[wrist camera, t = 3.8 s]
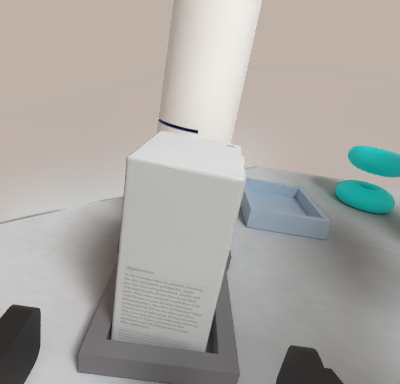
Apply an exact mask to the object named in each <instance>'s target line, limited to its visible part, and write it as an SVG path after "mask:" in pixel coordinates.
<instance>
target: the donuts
mask: <svg viewBox="0 0 400 384" xmlns="http://www.w3.org/2000/svg"><path fill="white" fill-rule="evenodd" d="M348 158H349V160H350V162H351V163H352V164H353V165H354V166H356V167H357V168H359V169H361V170H363V171H366V172H368V173H372V174H375V175H379V176H384V177H400V155H398V154H396V153H392V152H389V151H385V150H382V149H377V148H373V147H366V146H356V147H353V148H352V149H351V150H350V151H349V153H348ZM335 193H336V196H337V197H338V198H339V199H340V200H341V201H342V202H344V203H346V204H347V205H349V206H352V207H354V208H357V209H359V210H363V211H366V212H371V213H387V212H389V211H391V210H392V209H393V208H394V205H395V202H394V199H393V197H392V196H391V194H390V193H388V192H387V191H386V190H384V189H382V188H380V187H378V186H376V185H373V184H370V183H367V182H362V181H357V180H348V181H343V182H341V183H339V184H338V185H337V187H336V189H335Z"/></svg>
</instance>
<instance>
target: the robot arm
mask: <svg viewBox="0 0 400 384" xmlns="http://www.w3.org/2000/svg"><path fill="white" fill-rule="evenodd" d="M40 320H41V313H40V309H39V308H35V307H28V306H21V305H12V306H11V307H9V309H8V310H7V311H6V312H5V313H4V315H3V316H2V317H1V318H0V384H24V382H25V381H26V379H27V377H28V375H29V374H30V372H31V370H32V368H33V366H34V364H35V362H36V360H37V357H38V354H39V350H40ZM276 384H343V383H342V381H341V380H340V379H339V378H338V377H337V375H336V374H335V373H334V372H333V370H332V369H328V368H324V366H323V364H322V361H321V359H320V357H319V354H318V352H317V351H316V350H315V349H314V348H307V347H300V346H293V345H291V346H290V347H289V348H288V351H287V353H286V356H285V359H284V361H283V364H282V366H281V369H280V372H279V374H278V377H277V381H276Z"/></svg>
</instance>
